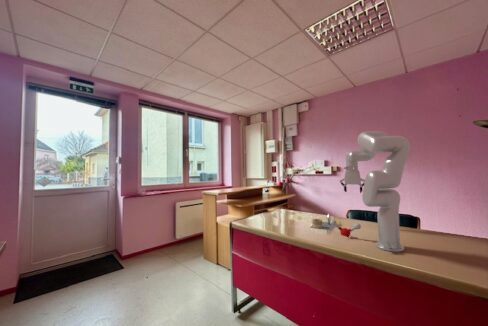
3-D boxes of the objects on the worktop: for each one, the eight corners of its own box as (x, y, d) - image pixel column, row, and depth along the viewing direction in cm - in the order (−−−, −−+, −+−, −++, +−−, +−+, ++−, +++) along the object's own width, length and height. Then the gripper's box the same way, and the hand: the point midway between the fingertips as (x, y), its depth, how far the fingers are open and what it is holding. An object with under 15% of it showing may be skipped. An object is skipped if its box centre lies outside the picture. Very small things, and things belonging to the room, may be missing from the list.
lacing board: (332, 232, 136) (332, 230, 136) (309, 229, 144) (309, 227, 144) (337, 225, 153) (336, 223, 153) (316, 222, 161) (316, 221, 161)
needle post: (330, 224, 149) (330, 213, 150) (327, 224, 151) (327, 213, 151) (331, 224, 151) (330, 213, 151) (328, 223, 152) (327, 213, 152)
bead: (321, 228, 140) (320, 221, 141) (311, 227, 144) (311, 220, 144) (323, 226, 146) (322, 219, 146) (314, 225, 149) (313, 218, 149)
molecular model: (329, 235, 130) (329, 220, 131) (332, 233, 135) (331, 218, 135) (360, 241, 119) (359, 224, 119) (362, 238, 123) (361, 222, 124)
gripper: (338, 169, 149) (339, 192, 149) (365, 168, 139) (366, 193, 139) (340, 168, 155) (341, 191, 155) (366, 168, 145) (367, 192, 145)
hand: (353, 192), depth 147 cm, fingers open, 9 cm apart
